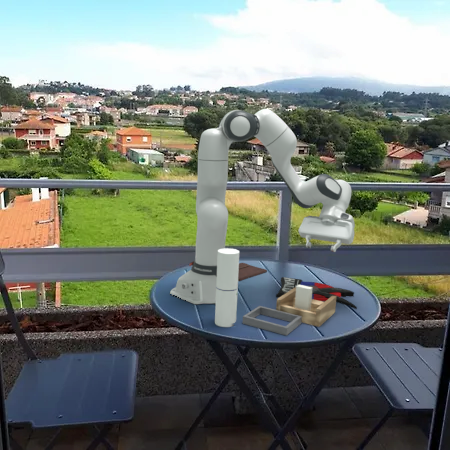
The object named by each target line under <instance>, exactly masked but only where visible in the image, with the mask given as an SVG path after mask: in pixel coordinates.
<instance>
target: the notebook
mask: <svg viewBox="0 0 450 450" xmlns="http://www.w3.org/2000/svg"><path fill="white" fill-rule="evenodd" d="M267 272H268V270H267V269H265V268H262V267H258V266H255V265H252V264H248V263H245V262H239V271H238V282H242V281H244V280H247V279H251V278H253V277H256V276H260V275H262V274H266V273H267Z"/></svg>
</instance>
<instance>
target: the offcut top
mask: <svg viewBox="0 0 450 450" xmlns="http://www.w3.org/2000/svg"><path fill="white" fill-rule="evenodd" d="M324 302H325V301H318V300H314V299H312V300H311V307H313V308H316V309H317V308H318V307H319V306H320V305H322V304H323V303H324ZM294 303H295V298H294Z"/></svg>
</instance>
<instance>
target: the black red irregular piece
mask: <svg viewBox="0 0 450 450" xmlns="http://www.w3.org/2000/svg"><path fill="white" fill-rule="evenodd" d="M280 283H281V287H280V290H278V292H277V293H276V295H275V297H276V298H279V297H281V296H283V295H284V294H286V293H287V292H289V291H290V290H292V289H293V288H295V287H296V286H297V285H304V286H308V287H313V288H312V299H314V300H318V301H322V302H325V301H326V300H328V299H329V298H330V297H331V296H337V297H336V303H339V304H342V305H345V306H348V307H351V308H352V309H355V310H358V309H357V308H358V307H357V305H355V304H354V303H352V302H351V301H349V300H347V299H345V298H346V296H353V297H354V294H355V292H354V291H352V290H349V289H345V288H340V287H333V286H332V285H330V284H329V285H328V284H325V283H321V282H315V281H314V282H313V281H303V280H302V279H300V278H299V279H298V278H292V277H286V276H285V277H284V276H282V277H280Z"/></svg>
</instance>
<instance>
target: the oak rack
mask: <svg viewBox="0 0 450 450" xmlns="http://www.w3.org/2000/svg"><path fill="white" fill-rule="evenodd" d="M295 297H296V287H295V288H293V289H292V290H290V291H289V292H287V293H286V294H284V295H283V296H281V297H277V298H276V305H275V310H278V311H282V312H286V313H290V314H294V315H298V316H302V321H301V324H302V323H303V324H307V325H310V326H314V327H318V328H320V327H322V325H323V324H324V323H326V321H328V319H330V318H331V317H332V316H333V315H334V314H335V313H336V307H337V306H336V305H337V302H336V297H337V296H331V297H330V298H329V299H328V300H326V301H323V302H324V303H323V304H322V305H320V306H319V307H318V308H317V309H316V313H315V312H311V311H307V310H303V309H299V308H295V307H293V303H294V298H295Z"/></svg>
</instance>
